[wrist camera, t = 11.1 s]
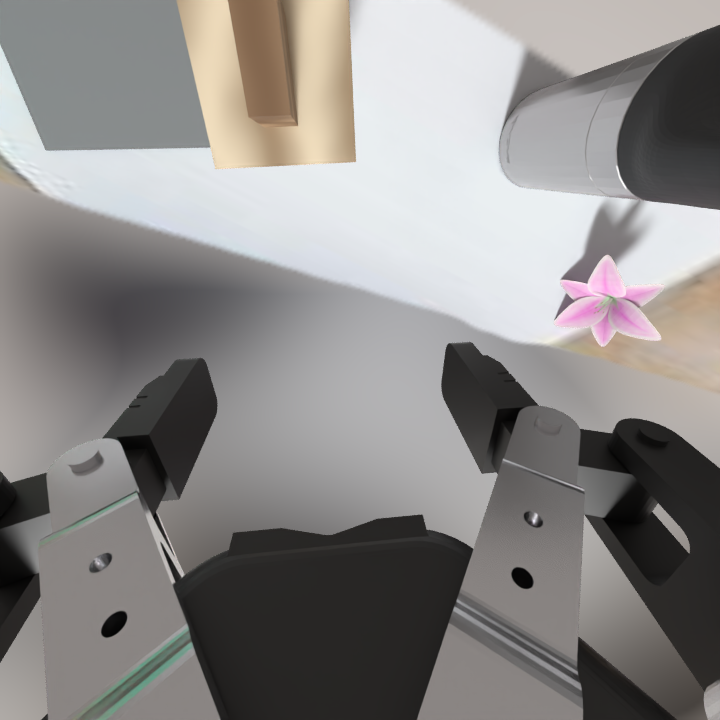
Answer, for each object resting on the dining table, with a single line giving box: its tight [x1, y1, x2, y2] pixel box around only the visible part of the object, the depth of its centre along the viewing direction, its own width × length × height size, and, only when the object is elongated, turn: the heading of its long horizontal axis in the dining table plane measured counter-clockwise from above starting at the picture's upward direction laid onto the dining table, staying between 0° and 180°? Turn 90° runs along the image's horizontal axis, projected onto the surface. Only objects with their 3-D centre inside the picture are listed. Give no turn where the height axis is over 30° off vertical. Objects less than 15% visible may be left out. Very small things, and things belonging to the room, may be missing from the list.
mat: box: [0, 0, 210, 150], centre depth 30 cm, size 18×14×1 cm
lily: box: [554, 255, 665, 347], centre depth 43 cm, size 12×12×10 cm
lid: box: [177, 0, 356, 169], centre depth 21 cm, size 11×11×7 cm
